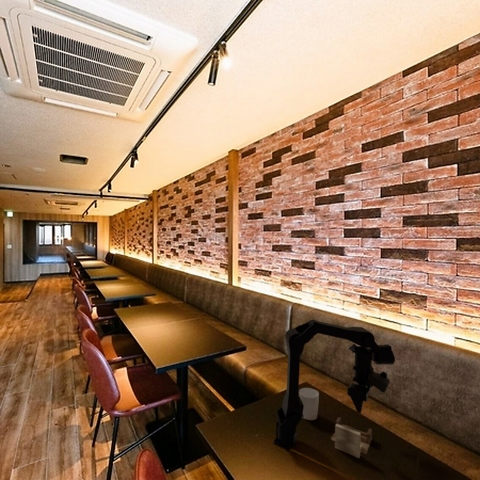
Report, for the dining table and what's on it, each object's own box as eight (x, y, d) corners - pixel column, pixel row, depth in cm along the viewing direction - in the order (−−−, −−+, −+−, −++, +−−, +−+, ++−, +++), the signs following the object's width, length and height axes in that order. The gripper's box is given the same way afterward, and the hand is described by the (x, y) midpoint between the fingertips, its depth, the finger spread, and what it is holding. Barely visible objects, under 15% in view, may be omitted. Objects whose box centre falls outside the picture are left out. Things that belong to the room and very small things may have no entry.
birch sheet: (334, 448, 99) (335, 425, 99) (336, 446, 100) (336, 423, 100) (359, 459, 94) (359, 435, 94) (360, 456, 96) (360, 432, 96)
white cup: (304, 409, 123) (304, 385, 123) (321, 416, 118) (322, 392, 118) (295, 417, 117) (295, 393, 117) (313, 425, 112) (313, 400, 112)
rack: (330, 441, 103) (330, 429, 103) (338, 427, 111) (339, 416, 111) (366, 456, 96) (366, 443, 96) (372, 440, 104) (372, 428, 104)
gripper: (383, 380, 92) (382, 429, 91) (391, 361, 107) (391, 403, 107) (347, 370, 98) (346, 416, 98) (360, 353, 113) (359, 393, 113)
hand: (362, 406), depth 104 cm, fingers open, 9 cm apart
